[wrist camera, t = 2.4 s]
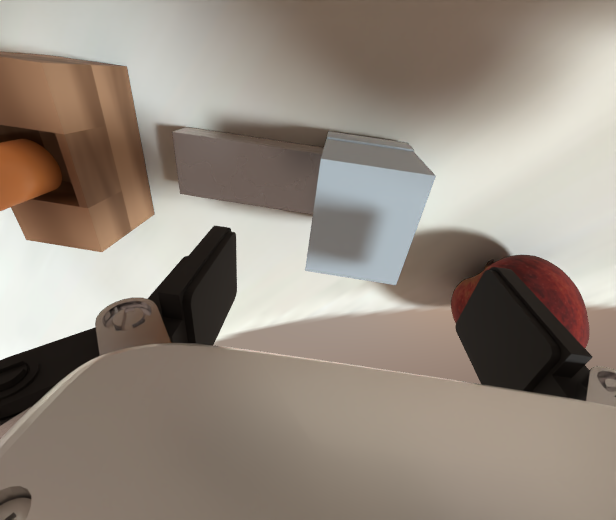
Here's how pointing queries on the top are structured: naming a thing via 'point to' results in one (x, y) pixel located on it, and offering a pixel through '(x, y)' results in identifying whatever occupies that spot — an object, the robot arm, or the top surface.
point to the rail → (247, 169)
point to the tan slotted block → (77, 148)
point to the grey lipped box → (366, 207)
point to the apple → (537, 292)
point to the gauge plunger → (26, 172)
